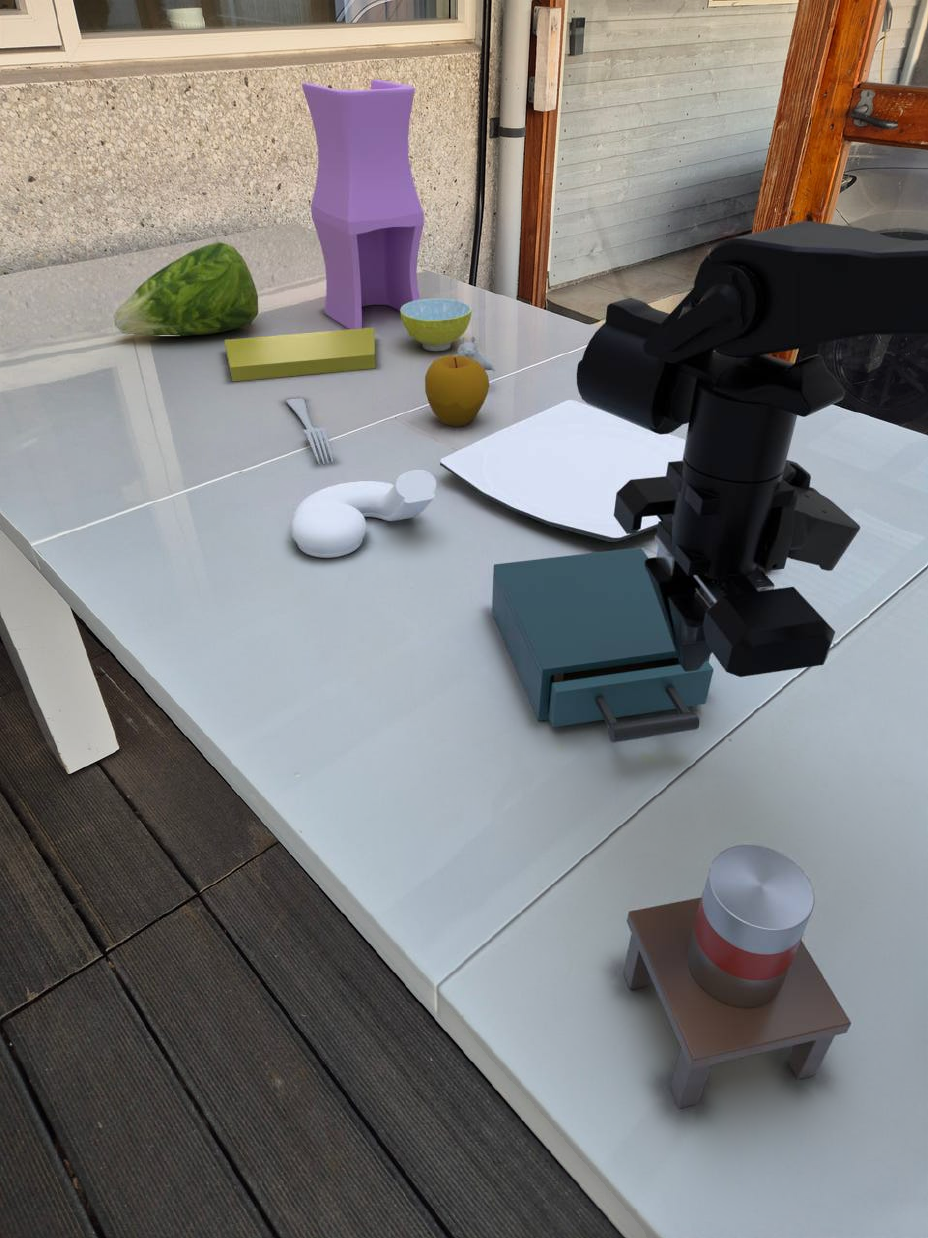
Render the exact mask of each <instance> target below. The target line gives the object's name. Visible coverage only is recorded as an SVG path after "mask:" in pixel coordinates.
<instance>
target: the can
mask: <svg viewBox="0 0 928 1238" xmlns="http://www.w3.org/2000/svg"><path fill="white" fill-rule="evenodd" d="M700 898H701V901H700V904H699V908H698V911H697V915H696V919H695V924H694V927H693V931H692V935H691V938H690V942H689V946H688V950H687V959H688V964H689V968H690V970H691V973H692V975H693V977H694V978H695V980H696V981H697V983H698V984H699V985H700V986H701V987H702V989H704V990H705V991H706V992H707V993H708V994H709V995H711V996H712V997H713V998H715V999H717V1000H719V1001H721V1002H723V1003H725V1004H728V1005H731V1006H735V1007H740V1008H753V1007H758V1006H762V1005H764V1004H766V1003H768V1002H770V1001H771V1000H773V999H774V998H775V997H776V996H777V994H778V993H779V991H780V989H781V987H782V985H783V982H784V980H785V977H786V975H787V972H788V970H789V967H790V965H791V963H792V961H793V959H794V956H795V954H796V951H797V949H798V946H799V944H800V941H801V940H802V939H803V936H804V932H805V930H806V927H807V925H808V923H809V920H810V917H811V915H812V913H813V910H814V907H815V892H814V887H813V885H812V883H811V881H810V878H809V877H808V876H807V874H806V873H805V872H804V870H803V869H802V868H801V867H800V866H799V865H798V864H797V863H796V862H795V861H793V860H792V859H791V858H789V857H788V856H786V855H784V854H783V853H781V852H778V851H777V850H775V849H772V848H769V847H766V846H761V845H757V844H756V845H755V844H741V845H736V846H732V847H729V848H726V849H725V850H723V851H721V852H720V853H719V854H717V856H716V857H714V859H713V861H712V862H711V864H710V866H709V870H708V874H707V878H706V881H705V884H704V887H703V890H702V894H701V896H700Z"/></svg>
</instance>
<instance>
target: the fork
mask: <svg viewBox="0 0 928 1238" xmlns="http://www.w3.org/2000/svg"><path fill="white" fill-rule="evenodd" d="M285 402H286V404H287V405H288V406H289V407H290V408H291V409H292V410H293V411H294V412H295V414H296V415H297V417H298V418H299V419H300V421H301V422H302V423H303V425H304V427H305V428H306V429H302V432H304V434H305V435H306V438H307V439H308V442H309V444H310V446H311V449H312V451H313V454H314V456H315V459H316V461H317V463H318V465H319V466H321V463H320V459H321V461H322V464H323V465H325V461H326V463H327V464H330V462H329V458H330V460H331V463H332V464H333V463H334V460H333V454H332V449H331V444H330V439H329V435H328V432H327V428H325V427H324V426H322V427H320V426H319V427H314V426H313V424H312V422H311V420H310V416H309V413H308V409H307V404H306V401H305V400H304V399H303V398H302V397H298V398H297V397H296V398H290V399H286V401H285ZM325 445H326V446H325ZM316 448H317V449H316ZM326 448H327V449H326ZM317 450H318V451H317ZM322 451H323V452H322ZM327 451H328V453H327ZM318 453H319V456H320V459H319V456H318ZM323 454H324V455H323ZM328 454H329V458H328ZM324 457H325V460H324Z"/></svg>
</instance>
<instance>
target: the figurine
mask: <svg viewBox="0 0 928 1238" xmlns="http://www.w3.org/2000/svg"><path fill="white" fill-rule="evenodd" d="M475 339H476V338H475V337H474V336H472V337H471V341H466V340H465V337H464V336H462V338H461V344H459V346H458V347H457V350H456V354H455V356H465V357H468V358H471V359H474V360H476V361H478V362H479V363H480V364H481V366H482V367H483V368H484V369H485V371H493V372H495V371H496V370H495V368H494V366H493V364H492V363H491V362H490V361H488V360H487V359H486V358H485V357H484V356H483V355H482V354H481V353H480V351H479V349H478V347H477V344H475Z"/></svg>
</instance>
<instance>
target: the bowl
mask: <svg viewBox="0 0 928 1238" xmlns="http://www.w3.org/2000/svg"><path fill="white" fill-rule="evenodd" d="M399 312H400V318H401V321H402V324H403V327H404V329H405V330H406V332H407V334H409V336H411V337H412V338H413V339H414V340H415V341H417V342H419V343H421V344H422V348H423V349H424V350H425V351H430V352H443V351H447V350H449V349H450V348H451V347H452V346H451V344H452V343H453V342H456V341H457V340H459V339H460V338H461V337H462V336H463V335H464V333H465V332H466V330H467V329H468V327H469V326H470V325H469V324H470V322H471V319H472V312H473V309H472V306H471V305H470V304H468V303H466V302H464V301H462V300H457V299H451V298H441V297H440V298H437V297H436V298H433V297H432V298H420V300H415V301H412V302H409V303H406V304H405V305H403V306H402V307H401V309H400V311H399Z"/></svg>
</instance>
